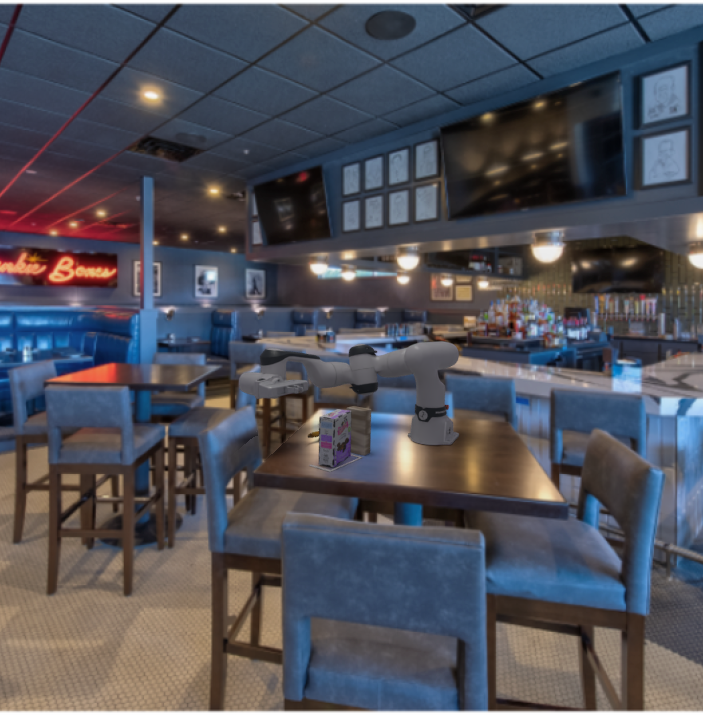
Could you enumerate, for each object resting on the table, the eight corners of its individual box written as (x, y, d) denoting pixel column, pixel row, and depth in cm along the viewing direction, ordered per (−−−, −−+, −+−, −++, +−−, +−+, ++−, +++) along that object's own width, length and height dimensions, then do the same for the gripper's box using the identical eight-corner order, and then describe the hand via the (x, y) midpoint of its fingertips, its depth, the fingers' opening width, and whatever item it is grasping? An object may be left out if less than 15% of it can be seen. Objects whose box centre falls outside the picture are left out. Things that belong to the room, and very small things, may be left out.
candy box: (333, 468, 152) (334, 418, 150) (317, 465, 154) (318, 416, 152) (351, 455, 164) (352, 410, 162) (336, 453, 166) (337, 408, 165)
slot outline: (342, 452, 167) (342, 451, 167) (362, 457, 162) (362, 457, 162) (308, 465, 153) (308, 465, 153) (329, 472, 148) (329, 471, 148)
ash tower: (352, 448, 172) (353, 406, 170) (370, 452, 168) (371, 409, 166) (345, 451, 169) (346, 407, 167) (363, 455, 164) (364, 411, 163)
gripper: (292, 390, 180) (319, 394, 172) (251, 399, 164) (279, 404, 155) (292, 374, 179) (319, 377, 171) (251, 381, 163) (279, 385, 155)
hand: (300, 390), depth 163 cm, fingers closed
